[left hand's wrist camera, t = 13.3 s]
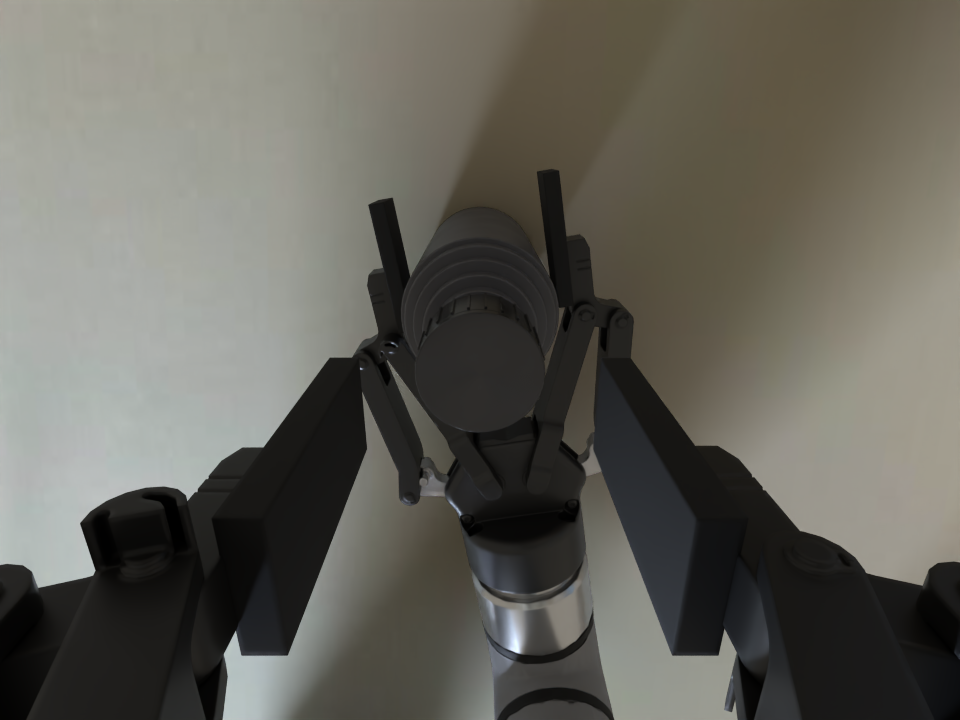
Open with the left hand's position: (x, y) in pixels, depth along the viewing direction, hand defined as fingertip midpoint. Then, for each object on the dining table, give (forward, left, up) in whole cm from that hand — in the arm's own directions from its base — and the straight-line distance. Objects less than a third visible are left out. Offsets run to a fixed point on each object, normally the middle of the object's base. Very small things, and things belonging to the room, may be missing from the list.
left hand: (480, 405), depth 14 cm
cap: (0, 0, -2) cm, 2 cm away
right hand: (-5, -2, -15) cm, 15 cm away
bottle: (0, 0, -21) cm, 21 cm away
